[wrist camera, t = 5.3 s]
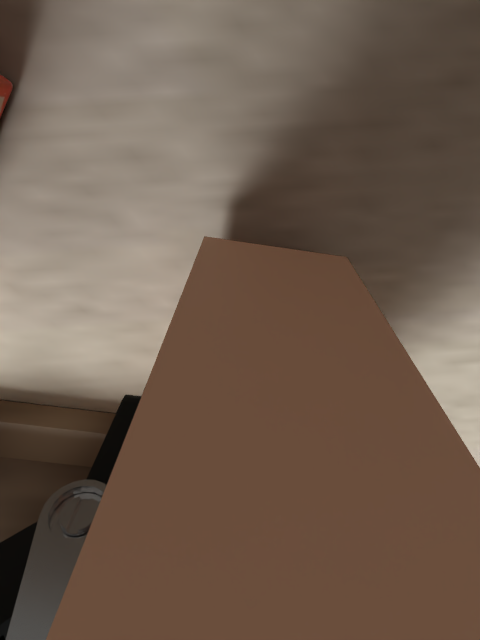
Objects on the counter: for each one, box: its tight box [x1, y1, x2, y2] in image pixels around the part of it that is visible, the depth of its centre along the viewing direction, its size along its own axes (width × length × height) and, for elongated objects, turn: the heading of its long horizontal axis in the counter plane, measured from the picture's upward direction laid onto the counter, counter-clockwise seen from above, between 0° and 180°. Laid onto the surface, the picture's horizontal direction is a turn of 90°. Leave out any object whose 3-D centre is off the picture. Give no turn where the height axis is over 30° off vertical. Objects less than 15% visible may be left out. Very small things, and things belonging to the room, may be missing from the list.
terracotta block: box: [46, 237, 480, 640], centre depth 9 cm, size 4×8×10 cm, turn 172°
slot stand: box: [0, 400, 116, 542], centre depth 17 cm, size 20×13×5 cm, turn 82°
